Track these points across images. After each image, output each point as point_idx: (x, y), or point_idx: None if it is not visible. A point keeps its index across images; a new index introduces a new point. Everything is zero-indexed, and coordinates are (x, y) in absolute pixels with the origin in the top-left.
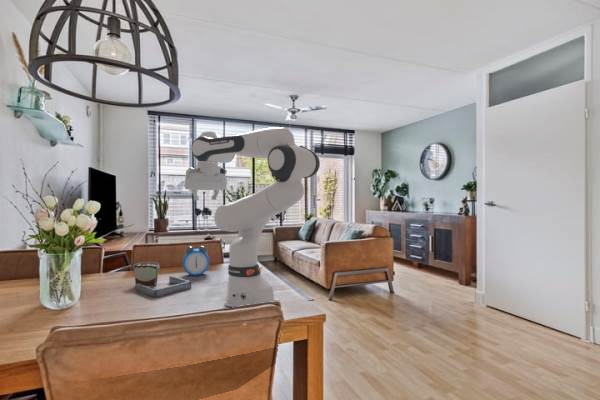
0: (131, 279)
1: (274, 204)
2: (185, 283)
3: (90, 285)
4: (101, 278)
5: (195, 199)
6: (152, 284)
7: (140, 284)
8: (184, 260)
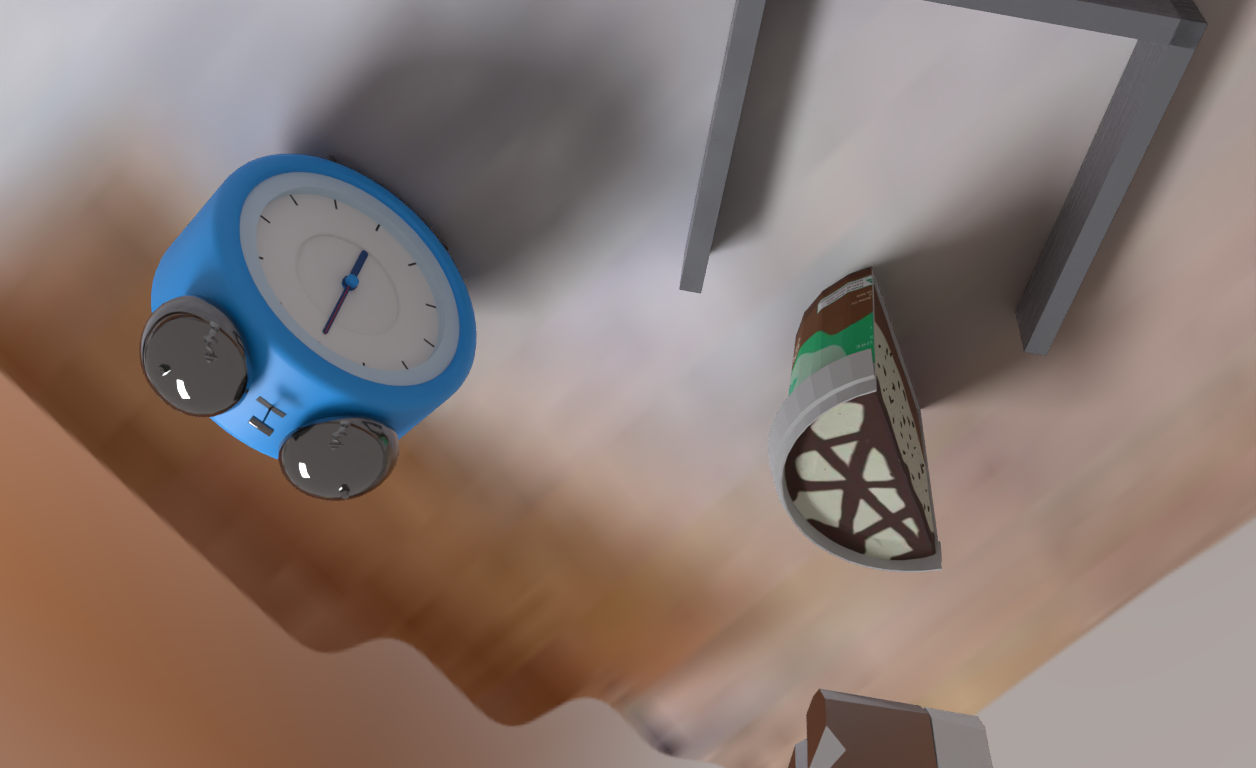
0: (785, 554)
1: None
2: None
3: (1029, 651)
4: None
5: (969, 758)
6: (878, 298)
7: (1050, 305)
8: (454, 376)
